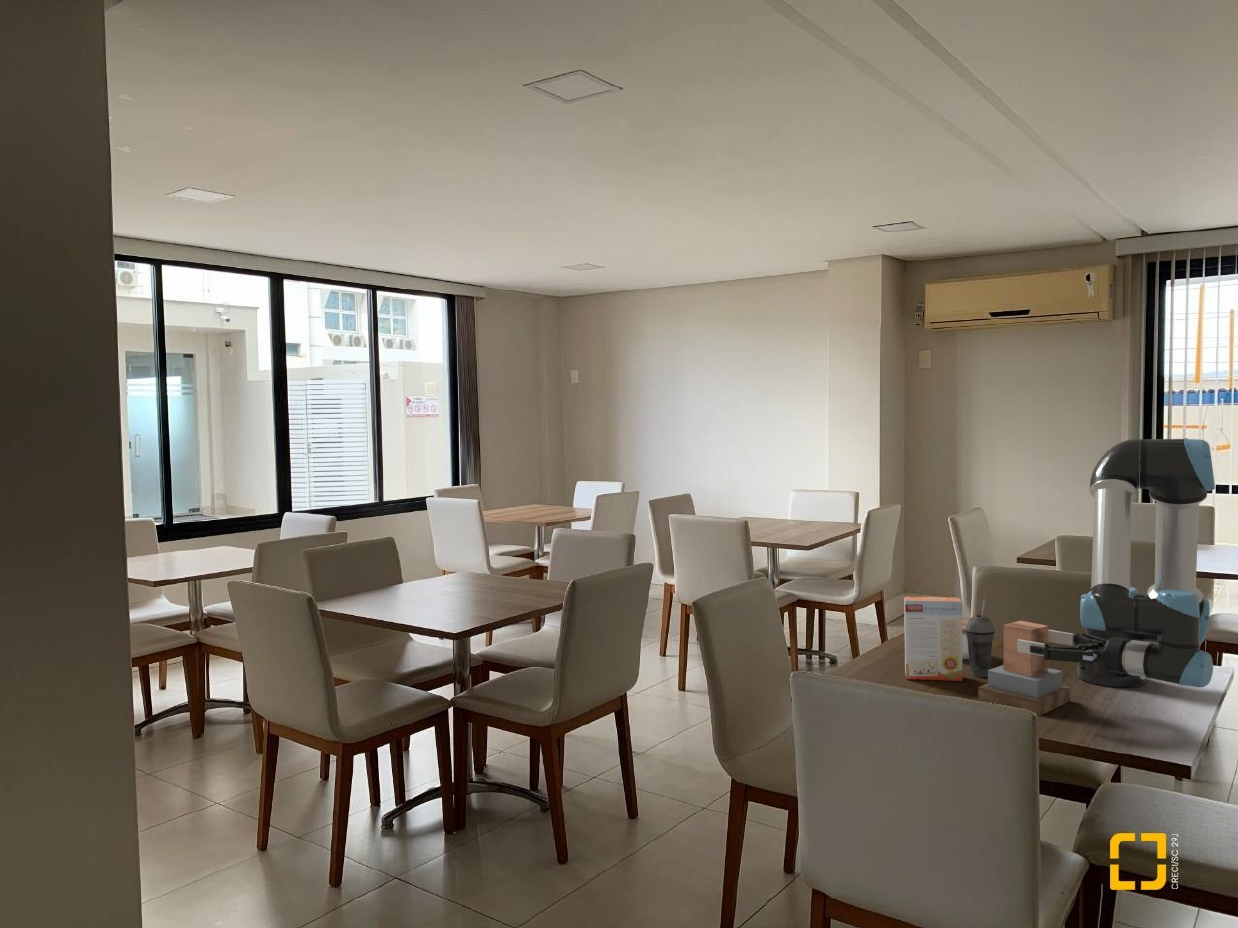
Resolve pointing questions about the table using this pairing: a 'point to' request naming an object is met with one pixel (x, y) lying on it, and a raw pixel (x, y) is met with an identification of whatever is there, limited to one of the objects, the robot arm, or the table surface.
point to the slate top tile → (1025, 682)
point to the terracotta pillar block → (1020, 660)
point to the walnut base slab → (1025, 699)
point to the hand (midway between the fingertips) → (1031, 639)
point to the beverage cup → (979, 643)
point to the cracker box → (933, 638)
